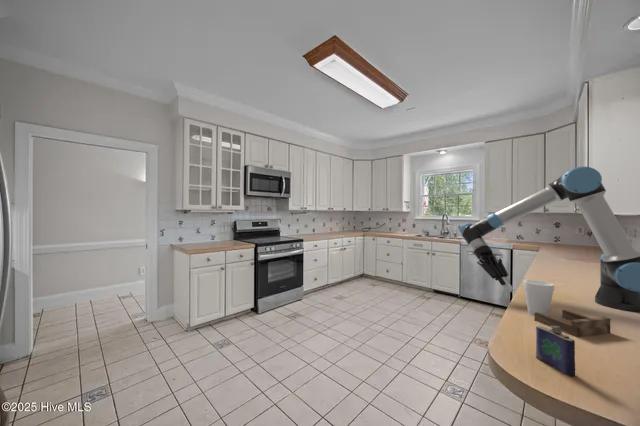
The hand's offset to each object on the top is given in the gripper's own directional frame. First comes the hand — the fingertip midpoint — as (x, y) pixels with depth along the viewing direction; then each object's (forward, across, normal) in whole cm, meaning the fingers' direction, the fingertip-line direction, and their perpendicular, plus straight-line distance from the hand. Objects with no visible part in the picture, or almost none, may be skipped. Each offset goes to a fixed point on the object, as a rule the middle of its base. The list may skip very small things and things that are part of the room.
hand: (510, 291), depth 114 cm
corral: (+20, 0, +12) cm, 23 cm away
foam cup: (+13, 0, +4) cm, 13 cm away
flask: (+34, +32, +25) cm, 53 cm away
